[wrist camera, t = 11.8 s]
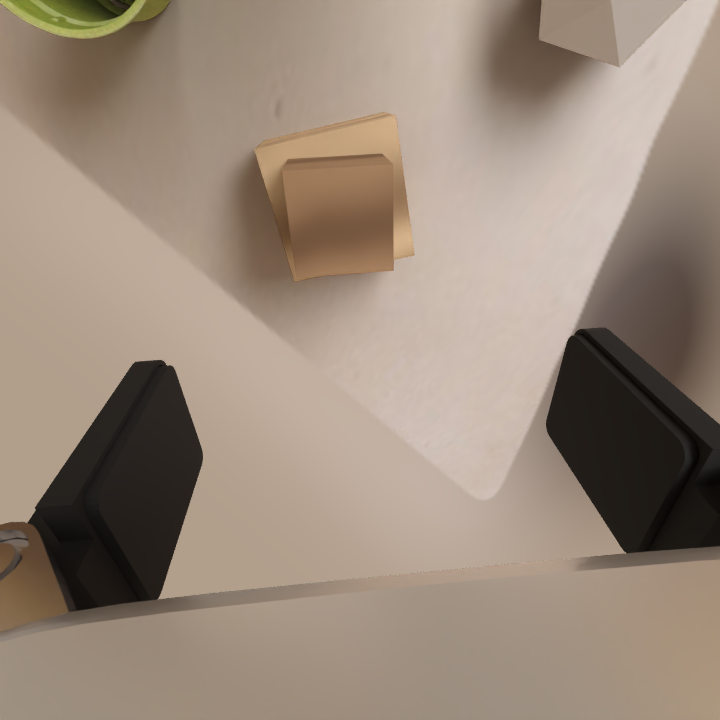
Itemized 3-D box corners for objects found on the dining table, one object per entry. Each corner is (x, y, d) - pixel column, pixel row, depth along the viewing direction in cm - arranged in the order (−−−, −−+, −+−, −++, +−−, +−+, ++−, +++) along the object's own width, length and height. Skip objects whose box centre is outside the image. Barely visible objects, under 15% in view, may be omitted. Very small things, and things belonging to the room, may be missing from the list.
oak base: (264, 140, 31) (254, 149, 26) (383, 112, 31) (395, 115, 26) (298, 255, 36) (294, 281, 31) (401, 232, 36) (414, 255, 31)
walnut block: (287, 158, 27) (281, 170, 23) (381, 153, 27) (393, 164, 23) (299, 251, 30) (295, 277, 26) (383, 246, 30) (393, 270, 26)
